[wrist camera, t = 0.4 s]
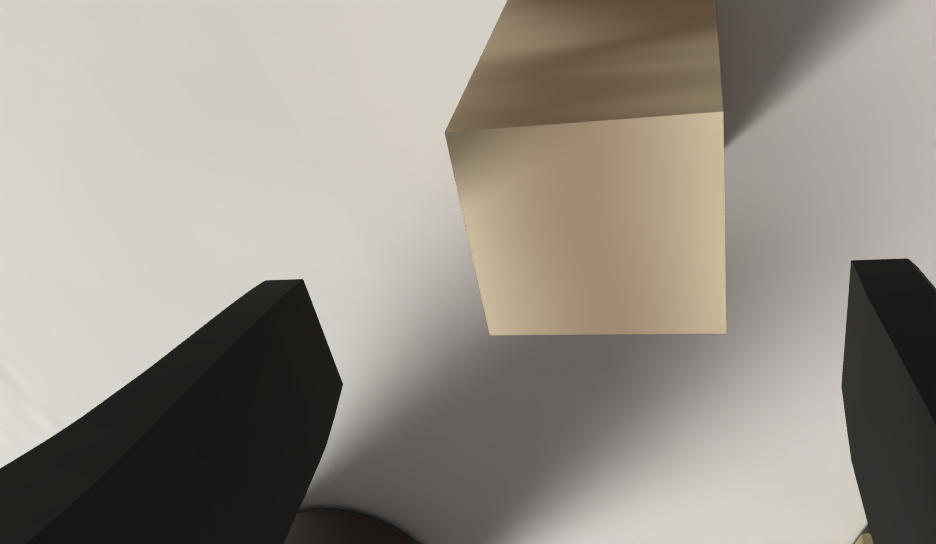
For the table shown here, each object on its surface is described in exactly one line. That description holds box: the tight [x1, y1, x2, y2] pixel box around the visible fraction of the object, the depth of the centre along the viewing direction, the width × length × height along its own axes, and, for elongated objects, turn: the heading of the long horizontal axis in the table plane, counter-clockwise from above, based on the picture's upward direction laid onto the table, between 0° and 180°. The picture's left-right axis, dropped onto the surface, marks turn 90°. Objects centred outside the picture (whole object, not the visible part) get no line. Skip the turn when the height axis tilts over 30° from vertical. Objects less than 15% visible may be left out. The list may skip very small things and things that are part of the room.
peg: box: [445, 0, 726, 335], centre depth 16 cm, size 4×4×6 cm
